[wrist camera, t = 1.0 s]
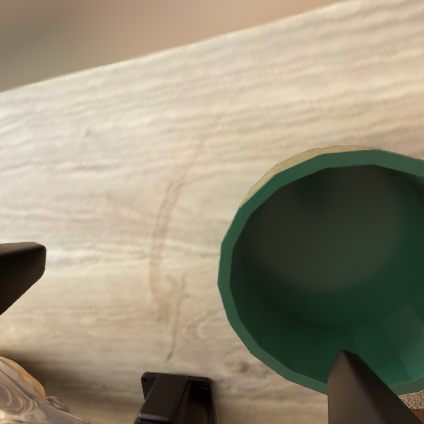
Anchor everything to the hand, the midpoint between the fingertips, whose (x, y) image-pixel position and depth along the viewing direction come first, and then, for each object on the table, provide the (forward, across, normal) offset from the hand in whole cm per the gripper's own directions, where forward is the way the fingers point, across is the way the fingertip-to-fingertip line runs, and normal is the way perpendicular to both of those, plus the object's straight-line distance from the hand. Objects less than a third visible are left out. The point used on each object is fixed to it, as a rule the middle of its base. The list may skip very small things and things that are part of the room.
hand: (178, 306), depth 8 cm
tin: (+14, -7, +1) cm, 15 cm away
